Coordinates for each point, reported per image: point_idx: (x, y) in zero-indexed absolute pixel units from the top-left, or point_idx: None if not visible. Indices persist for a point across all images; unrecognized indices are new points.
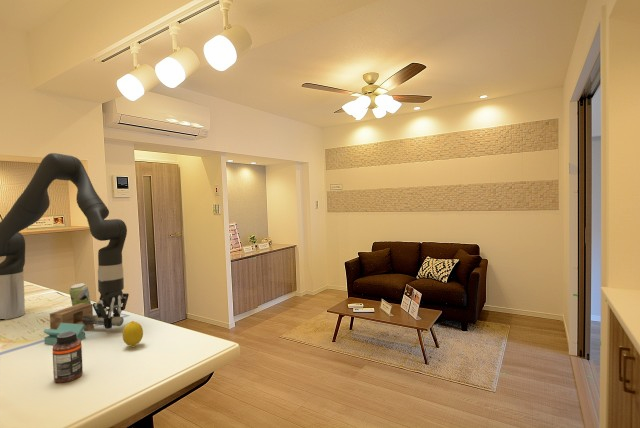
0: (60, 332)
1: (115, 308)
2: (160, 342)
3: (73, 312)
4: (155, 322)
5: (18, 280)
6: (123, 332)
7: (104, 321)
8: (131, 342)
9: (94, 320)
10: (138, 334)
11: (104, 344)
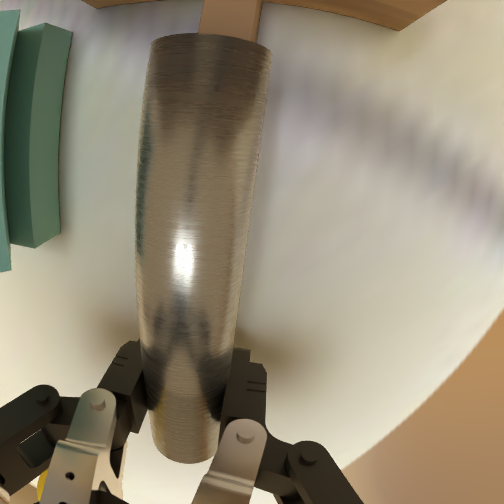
0: None
1: (246, 474)
2: (142, 496)
3: None
4: (349, 454)
5: None
6: (38, 483)
7: (106, 378)
8: None
9: (135, 237)
10: None
11: (51, 376)
